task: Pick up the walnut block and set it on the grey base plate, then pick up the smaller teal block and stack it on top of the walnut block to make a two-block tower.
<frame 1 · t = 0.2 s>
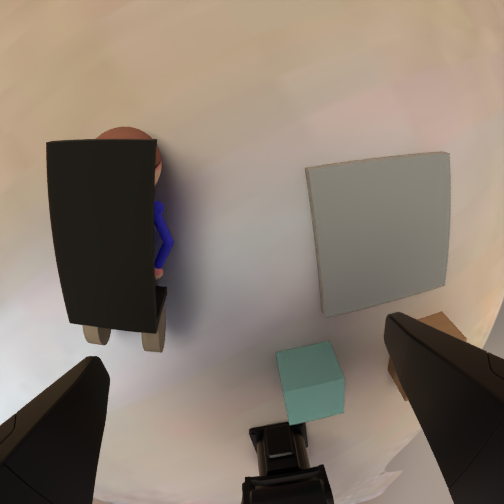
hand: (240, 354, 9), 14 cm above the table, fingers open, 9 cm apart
teal block: (304, 365, 28), on the table
base plate: (386, 232, 23), on the table
figurine character: (135, 230, 22), on the table
walnut block: (414, 341, 28), on the table
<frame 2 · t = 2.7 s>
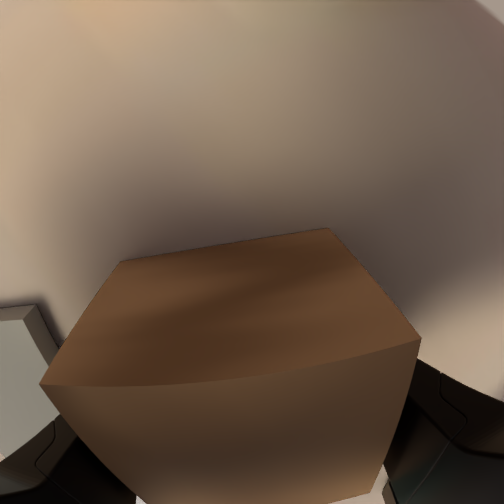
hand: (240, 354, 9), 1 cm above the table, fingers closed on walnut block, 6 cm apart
base plate: (15, 406, 11), on the table
walnut block: (238, 332, 10), on the table, touching gripper
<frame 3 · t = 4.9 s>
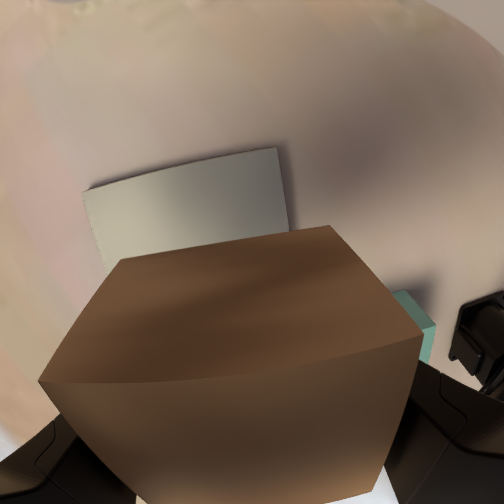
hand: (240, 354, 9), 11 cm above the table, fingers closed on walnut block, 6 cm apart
teal block: (374, 322, 23), on the table
base plate: (196, 258, 20), on the table
walnut block: (239, 330, 10), point 10 cm above the table, touching gripper
when the fingers open (3 cm above the table, at t = 7.0 s): walnut block drops 1 cm, resting on base plate.
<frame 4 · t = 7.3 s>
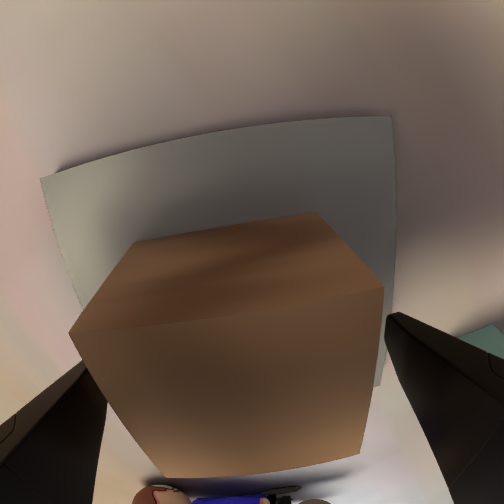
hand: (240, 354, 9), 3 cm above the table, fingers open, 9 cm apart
teal block: (453, 365, 15), on the table
base plate: (236, 294, 12), on the table
figurine character: (229, 490, 19), on the table
walnut block: (238, 306, 11), point 1 cm above the table, touching base plate
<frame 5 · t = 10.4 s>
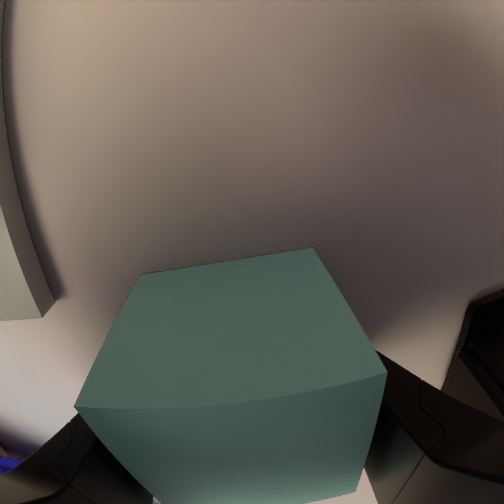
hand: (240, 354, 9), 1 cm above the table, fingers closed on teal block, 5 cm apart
teal block: (238, 332, 10), on the table, touching gripper
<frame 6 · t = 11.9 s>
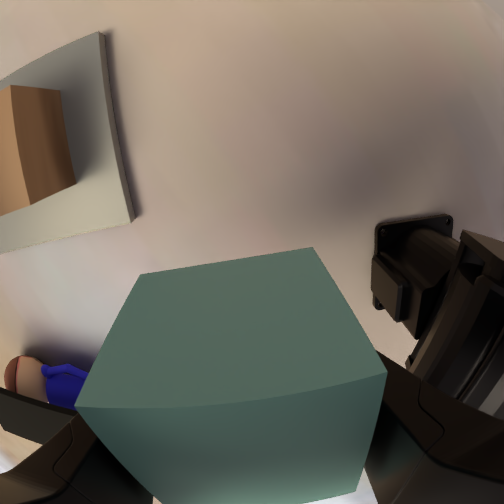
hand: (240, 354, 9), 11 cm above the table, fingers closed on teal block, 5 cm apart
teal block: (238, 332, 10), point 10 cm above the table, touching gripper
base plate: (38, 150, 16), on the table
figurine character: (84, 376, 23), on the table
walnut block: (30, 151, 15), point 1 cm above the table, touching base plate
when the fingers open (8 cm above the table, at t = 13.7 s): teal block drops 1 cm, resting on walnut block.
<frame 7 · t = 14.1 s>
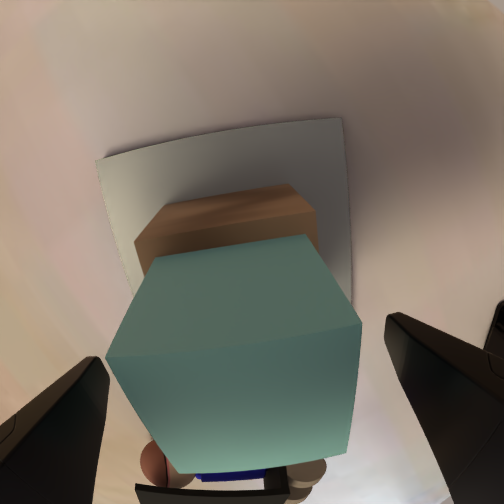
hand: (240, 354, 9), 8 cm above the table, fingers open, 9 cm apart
teal block: (241, 310, 11), point 6 cm above the table, touching walnut block
base plate: (235, 246, 16), on the table
figurine character: (229, 445, 24), on the table
walnut block: (236, 252, 15), point 1 cm above the table, touching base plate, teal block
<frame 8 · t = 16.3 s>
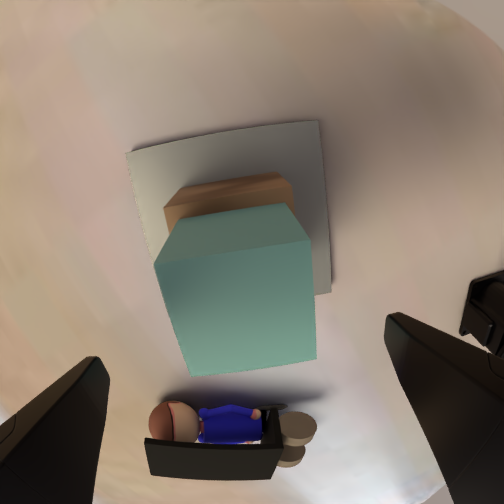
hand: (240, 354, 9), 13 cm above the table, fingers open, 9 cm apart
teal block: (239, 260, 15), point 6 cm above the table, touching walnut block
base plate: (235, 222, 21), on the table
figurine character: (229, 409, 28), on the table
walnut block: (236, 225, 20), point 1 cm above the table, touching base plate, teal block
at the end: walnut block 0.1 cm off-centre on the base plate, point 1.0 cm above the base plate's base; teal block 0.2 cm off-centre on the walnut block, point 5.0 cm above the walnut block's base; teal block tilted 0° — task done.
